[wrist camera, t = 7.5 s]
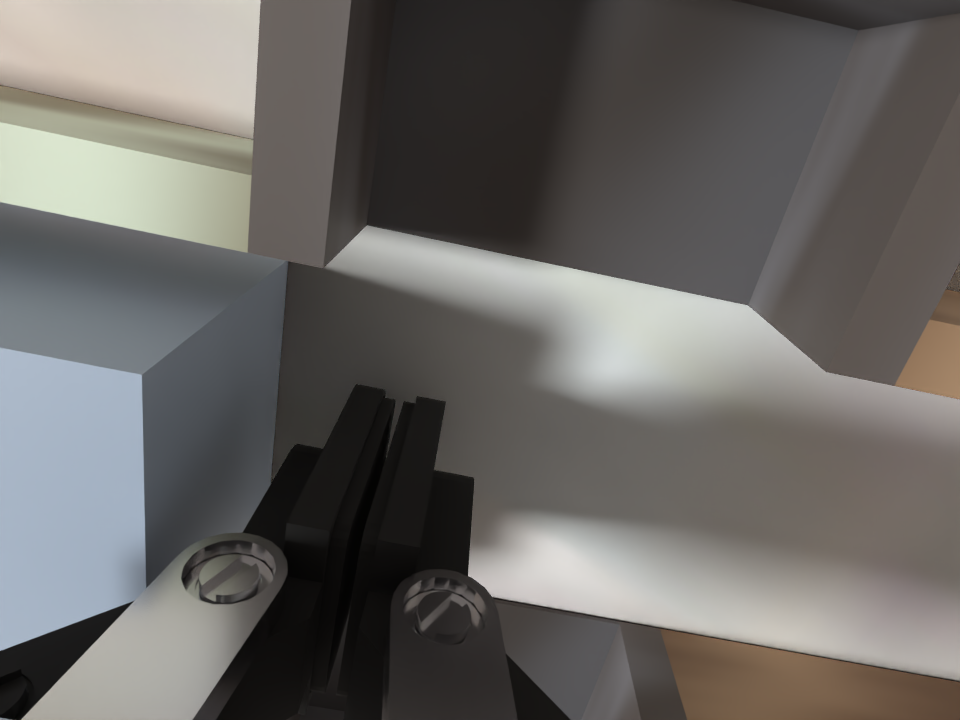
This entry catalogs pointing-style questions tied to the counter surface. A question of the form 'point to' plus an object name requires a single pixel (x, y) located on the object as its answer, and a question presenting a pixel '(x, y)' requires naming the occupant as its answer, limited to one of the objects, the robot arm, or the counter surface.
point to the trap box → (591, 222)
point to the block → (124, 408)
